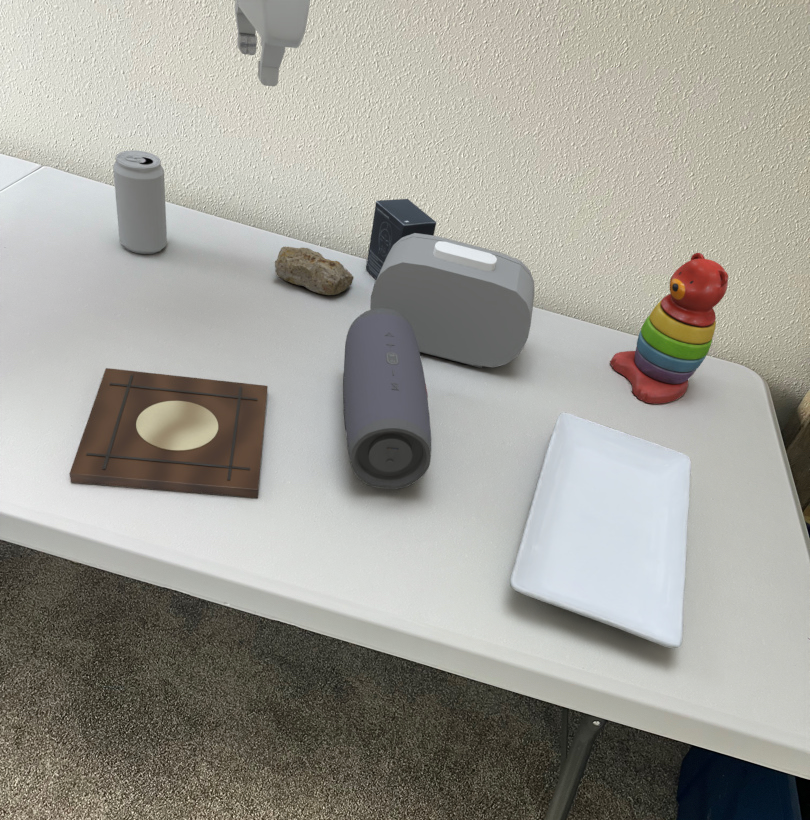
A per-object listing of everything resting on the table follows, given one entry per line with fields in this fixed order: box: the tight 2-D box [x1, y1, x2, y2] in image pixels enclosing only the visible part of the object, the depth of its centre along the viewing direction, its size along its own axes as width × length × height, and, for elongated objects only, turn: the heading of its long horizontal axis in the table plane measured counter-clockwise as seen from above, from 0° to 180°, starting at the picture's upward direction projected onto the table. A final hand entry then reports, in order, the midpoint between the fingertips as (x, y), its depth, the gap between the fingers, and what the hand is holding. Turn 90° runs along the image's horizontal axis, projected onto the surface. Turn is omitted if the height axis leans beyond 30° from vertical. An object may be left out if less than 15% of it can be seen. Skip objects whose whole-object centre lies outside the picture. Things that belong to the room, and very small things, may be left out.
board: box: [68, 367, 269, 499], centre depth 84 cm, size 18×18×1 cm
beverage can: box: [112, 150, 168, 255], centre depth 106 cm, size 6×6×12 cm
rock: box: [274, 245, 354, 296], centre depth 110 cm, size 8×11×4 cm
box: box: [365, 198, 437, 280], centre depth 113 cm, size 8×6×11 cm
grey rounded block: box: [369, 233, 535, 369], centre depth 102 cm, size 21×10×13 cm, turn 80°
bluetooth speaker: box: [342, 308, 432, 490], centre depth 87 cm, size 23×9×10 cm, turn 4°
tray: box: [509, 411, 692, 649], centre depth 84 cm, size 17×31×4 cm, turn 163°
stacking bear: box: [609, 252, 729, 405], centre depth 104 cm, size 11×10×18 cm
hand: (256, 67), depth 83 cm, fingers open, 8 cm apart
